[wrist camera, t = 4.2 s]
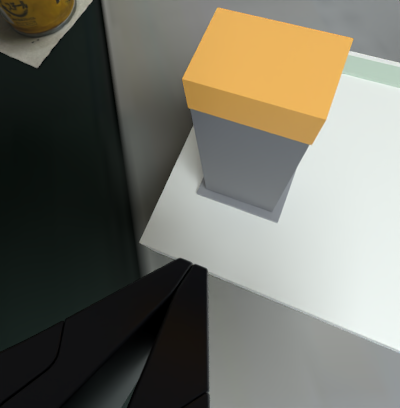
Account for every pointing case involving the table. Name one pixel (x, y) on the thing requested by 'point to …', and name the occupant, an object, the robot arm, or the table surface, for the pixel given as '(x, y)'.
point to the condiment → (36, 26)
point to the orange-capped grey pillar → (259, 101)
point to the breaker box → (309, 215)
